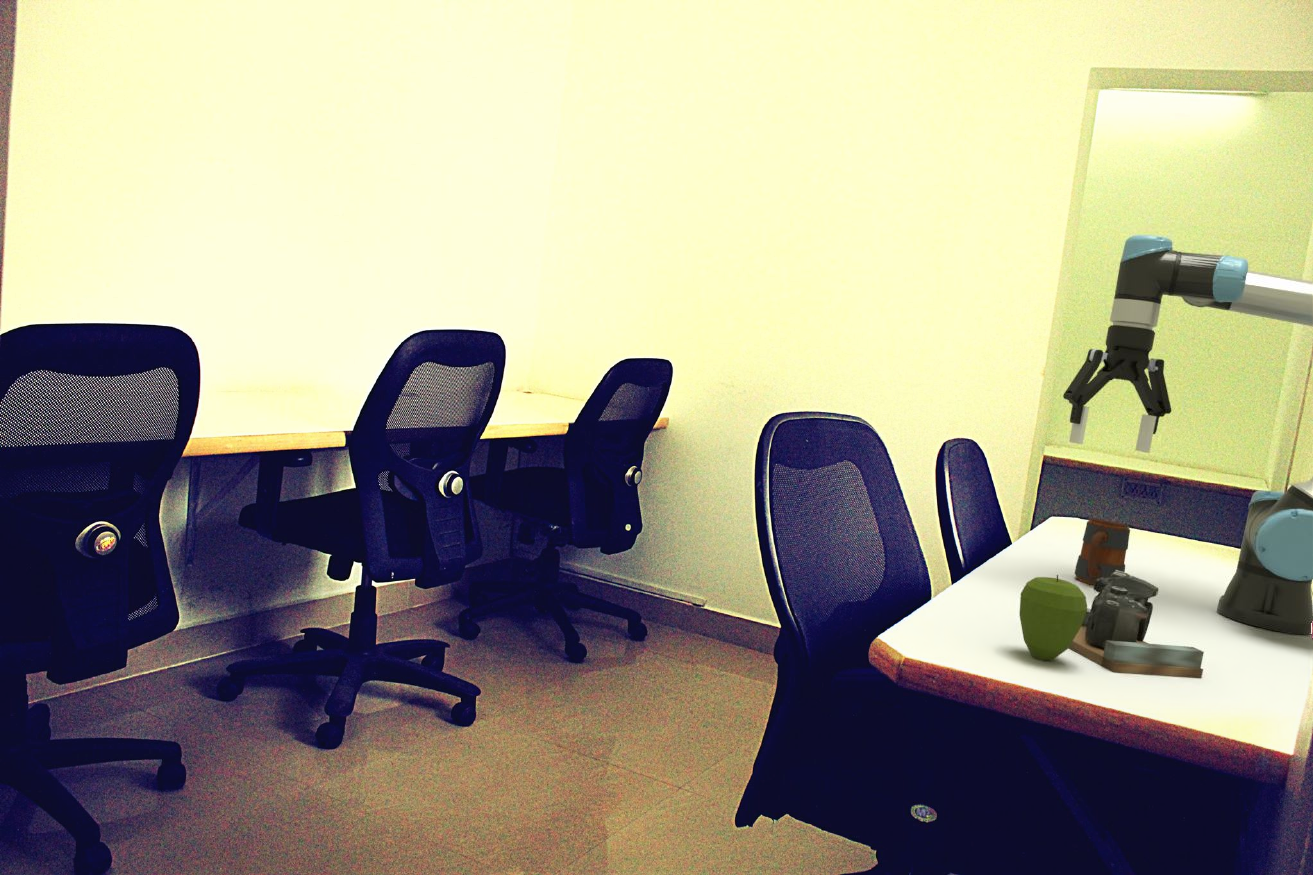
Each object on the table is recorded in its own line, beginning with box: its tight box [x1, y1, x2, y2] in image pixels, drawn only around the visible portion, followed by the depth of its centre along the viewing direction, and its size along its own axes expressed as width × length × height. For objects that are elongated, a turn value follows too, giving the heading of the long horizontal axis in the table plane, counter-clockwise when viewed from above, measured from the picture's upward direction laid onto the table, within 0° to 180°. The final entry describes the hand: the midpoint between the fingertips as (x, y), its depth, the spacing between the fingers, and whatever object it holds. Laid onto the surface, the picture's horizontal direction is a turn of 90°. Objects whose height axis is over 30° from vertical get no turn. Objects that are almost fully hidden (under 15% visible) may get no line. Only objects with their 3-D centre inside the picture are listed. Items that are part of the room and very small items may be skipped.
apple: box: [1019, 574, 1088, 661], centre depth 141 cm, size 9×8×12 cm
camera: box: [1085, 570, 1160, 649], centre depth 151 cm, size 13×10×10 cm
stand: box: [1068, 607, 1205, 679], centre depth 151 cm, size 14×20×4 cm
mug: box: [1074, 518, 1131, 587], centre depth 201 cm, size 9×12×12 cm
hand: (1109, 447), depth 185 cm, fingers open, 13 cm apart
